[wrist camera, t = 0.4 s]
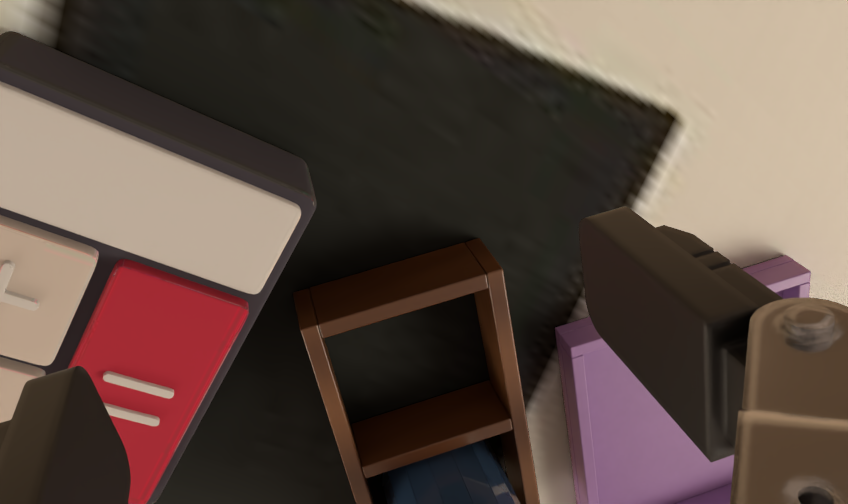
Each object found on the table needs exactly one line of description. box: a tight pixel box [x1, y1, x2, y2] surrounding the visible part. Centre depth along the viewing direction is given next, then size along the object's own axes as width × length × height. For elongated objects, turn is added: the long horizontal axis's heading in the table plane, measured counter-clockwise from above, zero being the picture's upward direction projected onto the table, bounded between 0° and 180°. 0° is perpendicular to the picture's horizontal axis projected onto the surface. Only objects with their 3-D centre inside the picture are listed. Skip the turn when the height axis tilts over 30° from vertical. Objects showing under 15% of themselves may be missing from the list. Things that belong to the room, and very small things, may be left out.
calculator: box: [0, 32, 316, 504], centre depth 27 cm, size 11×4×15 cm
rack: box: [293, 238, 540, 504], centre depth 35 cm, size 16×8×3 cm, turn 11°
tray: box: [555, 255, 811, 504], centre depth 39 cm, size 14×12×2 cm
